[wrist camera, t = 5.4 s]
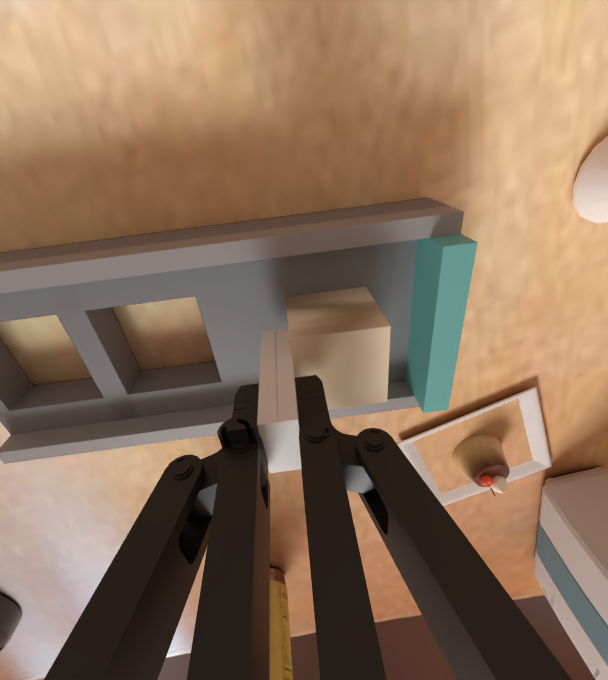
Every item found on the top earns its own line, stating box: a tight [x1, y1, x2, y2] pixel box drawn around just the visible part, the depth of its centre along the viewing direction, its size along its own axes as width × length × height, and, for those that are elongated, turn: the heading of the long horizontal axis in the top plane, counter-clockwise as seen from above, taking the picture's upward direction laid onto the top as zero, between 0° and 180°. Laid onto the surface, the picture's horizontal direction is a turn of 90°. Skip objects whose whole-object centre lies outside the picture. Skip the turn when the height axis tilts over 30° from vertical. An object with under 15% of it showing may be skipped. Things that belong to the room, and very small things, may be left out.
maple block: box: [286, 287, 391, 410], centre depth 18 cm, size 4×4×4 cm
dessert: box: [397, 387, 552, 506], centre depth 29 cm, size 12×12×5 cm
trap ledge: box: [0, 198, 477, 464], centre depth 19 cm, size 28×12×6 cm, turn 96°
